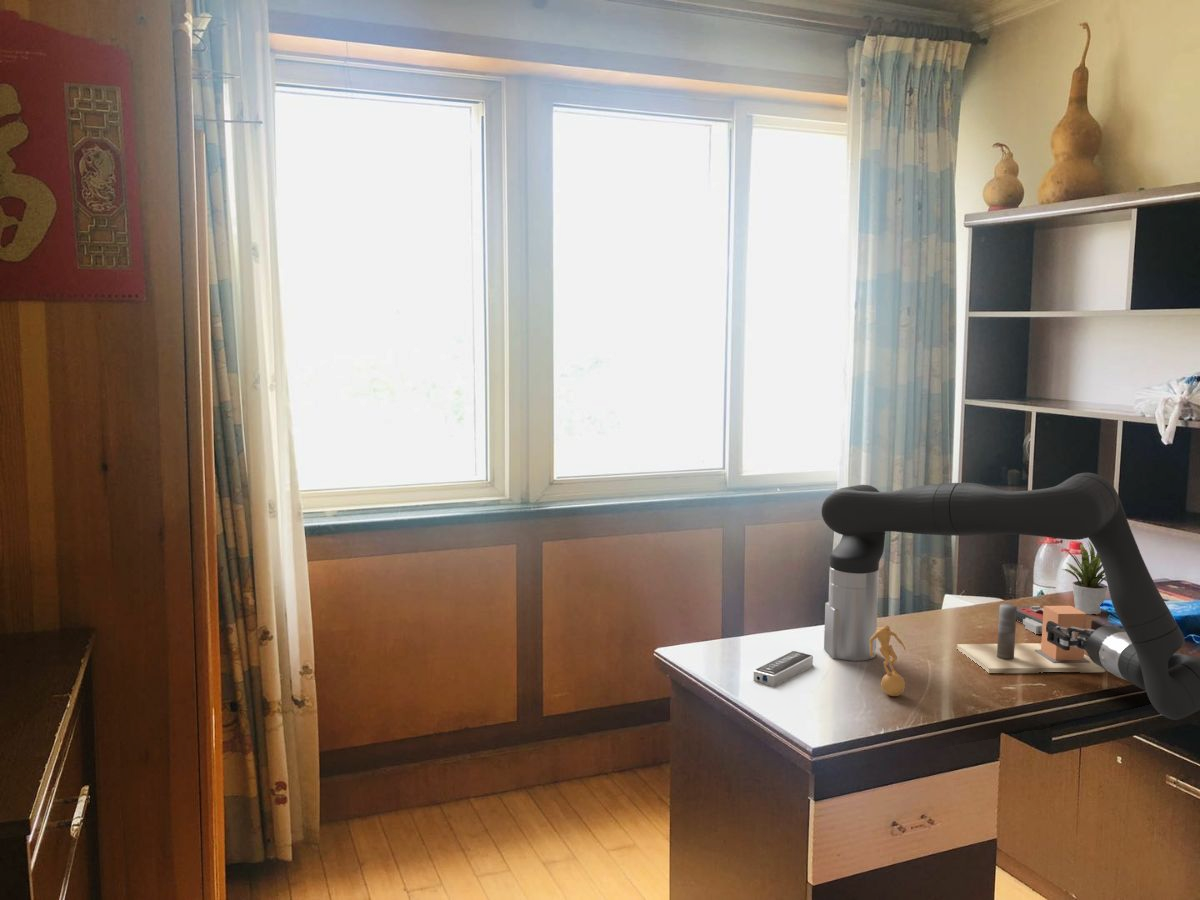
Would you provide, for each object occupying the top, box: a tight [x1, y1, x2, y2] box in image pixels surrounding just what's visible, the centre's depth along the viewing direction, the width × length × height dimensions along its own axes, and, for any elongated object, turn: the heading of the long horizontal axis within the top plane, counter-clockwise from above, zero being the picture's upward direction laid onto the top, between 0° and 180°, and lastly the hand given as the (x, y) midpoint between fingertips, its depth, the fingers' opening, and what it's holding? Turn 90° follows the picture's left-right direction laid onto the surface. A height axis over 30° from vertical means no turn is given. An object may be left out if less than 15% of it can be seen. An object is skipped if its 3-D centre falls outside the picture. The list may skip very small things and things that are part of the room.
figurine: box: [869, 625, 906, 697], centre depth 164 cm, size 8×6×12 cm
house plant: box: [1058, 540, 1108, 615], centre depth 213 cm, size 14×14×16 cm
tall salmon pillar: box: [1040, 605, 1087, 660], centre depth 181 cm, size 5×5×9 cm
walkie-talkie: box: [1016, 605, 1044, 635], centre depth 200 cm, size 9×4×20 cm
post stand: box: [956, 603, 1106, 674], centre depth 181 cm, size 22×14×11 cm, turn 93°
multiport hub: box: [753, 650, 814, 687], centre depth 175 cm, size 4×14×2 cm, turn 139°
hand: (1070, 625), depth 178 cm, fingers open, 8 cm apart
